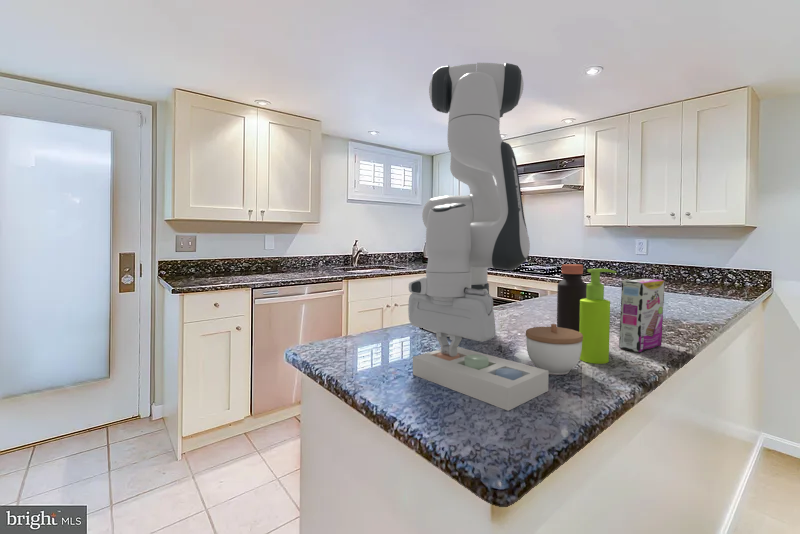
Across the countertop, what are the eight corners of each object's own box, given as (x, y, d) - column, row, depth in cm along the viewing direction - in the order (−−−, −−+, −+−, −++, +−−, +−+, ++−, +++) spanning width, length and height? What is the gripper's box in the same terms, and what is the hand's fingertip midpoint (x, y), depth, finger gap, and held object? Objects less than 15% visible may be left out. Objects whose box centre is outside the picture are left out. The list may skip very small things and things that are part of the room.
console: (412, 374, 77) (412, 356, 77) (453, 361, 85) (453, 345, 84) (508, 410, 60) (508, 388, 60) (548, 390, 68) (548, 370, 68)
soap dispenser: (618, 364, 81) (620, 269, 80) (582, 363, 83) (584, 269, 81) (609, 356, 87) (611, 267, 86) (576, 355, 89) (577, 267, 87)
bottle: (587, 342, 100) (588, 264, 98) (584, 348, 94) (585, 265, 92) (558, 338, 103) (559, 263, 102) (554, 345, 97) (555, 265, 96)
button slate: (490, 389, 67) (490, 372, 67) (505, 382, 70) (505, 366, 70) (512, 396, 64) (512, 378, 64) (527, 389, 67) (527, 372, 67)
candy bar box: (640, 353, 89) (642, 282, 88) (618, 348, 93) (620, 280, 92) (663, 346, 95) (665, 279, 94) (641, 341, 99) (643, 277, 98)
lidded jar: (539, 380, 73) (539, 331, 72) (517, 362, 84) (517, 319, 83) (593, 378, 74) (594, 329, 73) (565, 360, 85) (565, 318, 84)
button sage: (459, 373, 73) (459, 357, 72) (474, 368, 75) (474, 353, 75) (478, 379, 69) (478, 363, 69) (493, 374, 72) (493, 358, 72)
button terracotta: (432, 369, 78) (432, 354, 78) (447, 364, 81) (447, 350, 81) (449, 375, 75) (449, 359, 74) (464, 369, 77) (464, 355, 77)
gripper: (502, 289, 71) (502, 363, 72) (424, 281, 86) (425, 342, 87) (481, 292, 67) (481, 371, 67) (403, 283, 82) (403, 347, 83)
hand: (448, 354), depth 77 cm, fingers closed, pressing on button terracotta
